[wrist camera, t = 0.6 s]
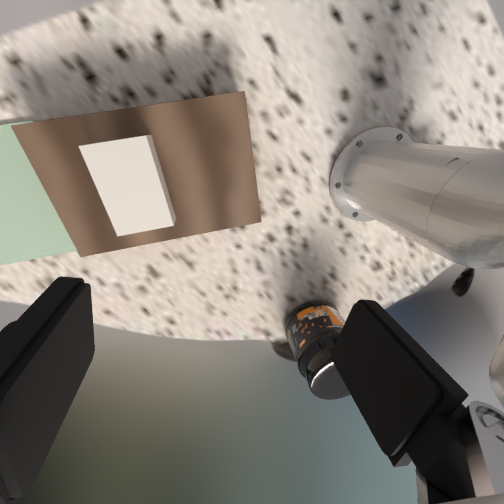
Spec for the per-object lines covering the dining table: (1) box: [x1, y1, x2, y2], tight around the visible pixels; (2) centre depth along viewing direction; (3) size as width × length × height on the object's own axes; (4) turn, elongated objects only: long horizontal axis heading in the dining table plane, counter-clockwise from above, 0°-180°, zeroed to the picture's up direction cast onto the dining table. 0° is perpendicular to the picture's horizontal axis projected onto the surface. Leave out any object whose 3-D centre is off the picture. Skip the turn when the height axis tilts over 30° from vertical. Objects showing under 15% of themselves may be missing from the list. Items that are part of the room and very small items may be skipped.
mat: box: [0, 120, 77, 265], centre depth 29 cm, size 12×15×1 cm
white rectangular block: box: [79, 135, 176, 236], centre depth 26 cm, size 6×9×2 cm, turn 7°
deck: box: [11, 91, 261, 257], centre depth 29 cm, size 22×14×4 cm, turn 97°
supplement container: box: [285, 301, 351, 400], centre depth 41 cm, size 10×10×12 cm
